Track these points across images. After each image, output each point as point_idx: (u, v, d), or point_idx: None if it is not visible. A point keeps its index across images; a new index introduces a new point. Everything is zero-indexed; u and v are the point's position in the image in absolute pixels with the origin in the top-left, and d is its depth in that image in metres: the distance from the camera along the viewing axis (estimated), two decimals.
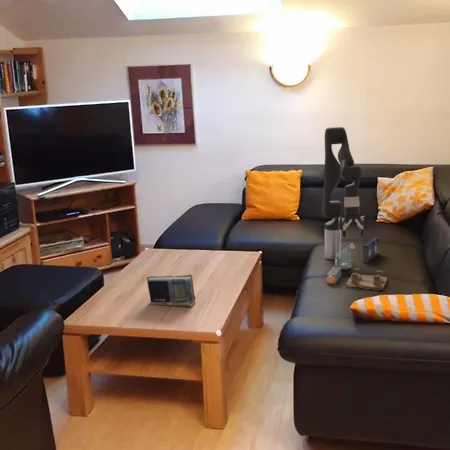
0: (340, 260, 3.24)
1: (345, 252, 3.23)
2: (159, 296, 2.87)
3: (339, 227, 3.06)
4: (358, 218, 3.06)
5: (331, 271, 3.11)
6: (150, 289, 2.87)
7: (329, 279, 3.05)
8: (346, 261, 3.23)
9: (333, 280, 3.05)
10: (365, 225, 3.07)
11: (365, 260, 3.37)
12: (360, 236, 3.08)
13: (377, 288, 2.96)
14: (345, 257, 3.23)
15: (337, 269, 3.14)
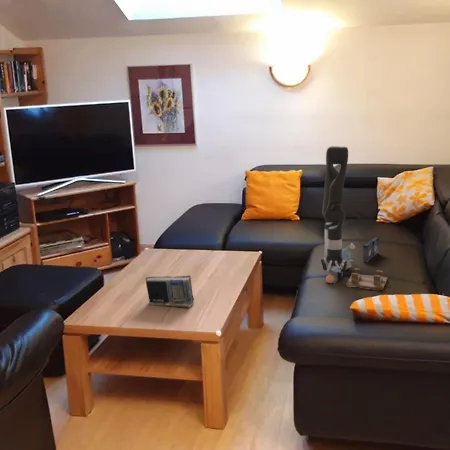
0: None
1: (345, 252, 3.23)
2: (158, 297, 2.86)
3: (323, 267, 3.13)
4: (339, 261, 3.08)
5: (331, 270, 3.11)
6: (149, 289, 2.86)
7: (328, 278, 3.06)
8: None
9: (332, 279, 3.05)
10: (343, 269, 3.09)
11: (365, 260, 3.37)
12: (338, 278, 3.12)
13: (377, 288, 2.96)
14: (345, 257, 3.23)
15: None
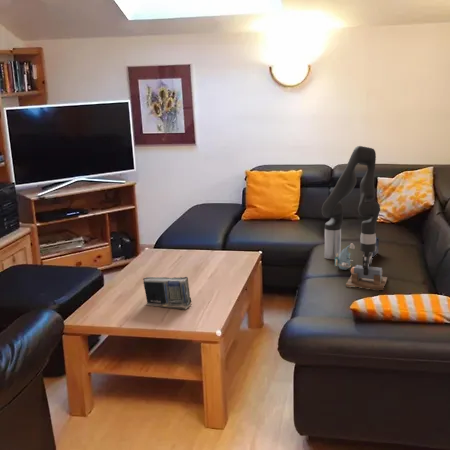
0: (340, 260, 3.24)
1: (345, 252, 3.23)
2: (155, 297, 2.85)
3: None
4: None
5: None
6: (146, 290, 2.86)
7: None
8: (346, 261, 3.23)
9: (351, 271, 3.06)
10: None
11: None
12: (364, 274, 3.01)
13: (377, 288, 2.96)
14: (345, 257, 3.23)
15: (372, 269, 3.01)
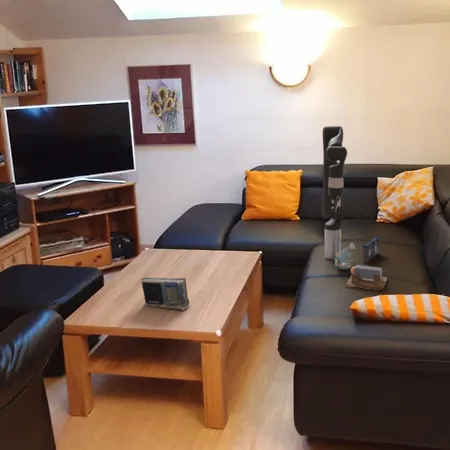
0: (340, 260, 3.24)
1: (345, 252, 3.23)
2: (153, 298, 2.84)
3: None
4: None
5: (365, 266, 3.05)
6: (144, 290, 2.85)
7: None
8: (346, 261, 3.23)
9: (351, 271, 3.06)
10: None
11: (365, 260, 3.37)
12: None
13: (377, 288, 2.96)
14: (345, 257, 3.23)
15: (372, 269, 3.01)
